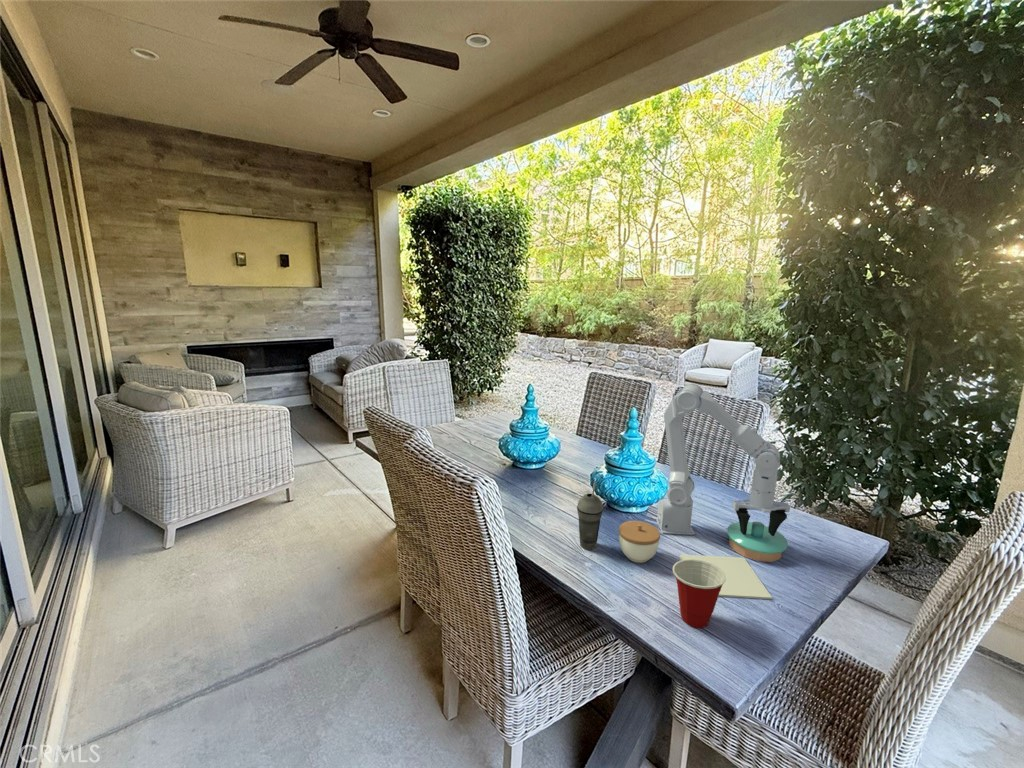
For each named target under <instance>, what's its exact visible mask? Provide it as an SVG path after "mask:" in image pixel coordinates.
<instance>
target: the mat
mask: <svg viewBox="0 0 1024 768" xmlns="http://www.w3.org/2000/svg"><path fill="white" fill-rule="evenodd" d="M679 558H680V561H681V560H687V559H695V560H703V561H706V562H709V563H712V564H714V565H715V566H717V567H719V568H720V569H721V570H722V571H723V572H724V573H725V576H726V580H725V582H724V584H723V585H722V587H721V590H720V592H719V595H718V597H724V598H739V599H741V598H742V599H759V600H760V599H761V600H773V596H772V595H771V594H770V592H769V591H768V590H767V588H766V586H765V585H764V584H763V583H762V581H761V580H760V578H759V577H758V576H757V574H756V573H755V571H754V570H753V568H752V567H751V566H750V564H749V563H748V561H747V559H745V558H746V557H740V556H738V557H736V556H719V555H718V556H717V555H699V554H697V555H696V554H679Z"/></svg>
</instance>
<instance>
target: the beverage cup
mask: <svg viewBox="0 0 1024 768" xmlns="http://www.w3.org/2000/svg"><path fill="white" fill-rule="evenodd" d="M595 489H596V480H594V481H593V484H592V491H591V492H592V493H585V494H583V495H582V496H581V497H580V498H579V499H578V502H577V506H576V510H577V516H578V535H579V546H580V547H581V549H584V550H587V551H594V550H595V549H596V548H597V543H598V539H599V538H598V537H599V531H600V526H601V525H600V524H601V518H602V516H603V512H604V506H603V503H602V500H601V498H600V497H599V496H598V495H596V494H595V491H596V490H595Z"/></svg>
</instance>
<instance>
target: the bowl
mask: <svg viewBox="0 0 1024 768" xmlns="http://www.w3.org/2000/svg"><path fill="white" fill-rule="evenodd" d="M728 538H729V537H728ZM728 544H729V545H730V547H731V548H732V550H733V551H734V552H736V553H738V554H739V555H741V556H742V557H743V558H747V559H750V560H755V561H758V562H767V563H768V562H770V563H773V562H775V561H779V560H781V559H782V555H783V552H781V553H776V554H767V553H760V552H755V551H752V550H749V549H746V548H744V547H742V546H740V545H738V544H736V543H735V542H733V541H732V540H731V539H730V538H729V539H728Z"/></svg>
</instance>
